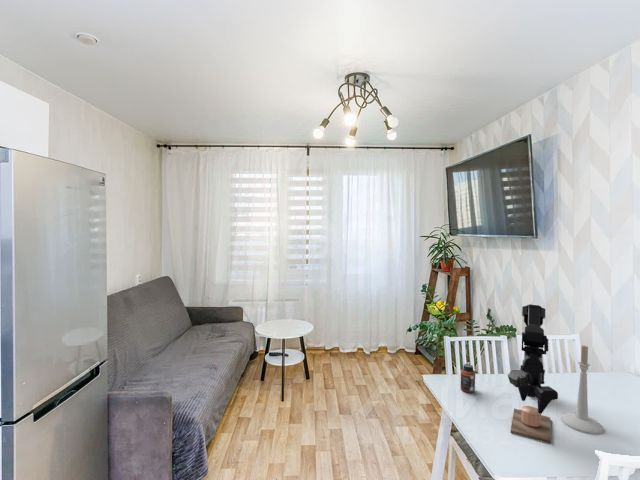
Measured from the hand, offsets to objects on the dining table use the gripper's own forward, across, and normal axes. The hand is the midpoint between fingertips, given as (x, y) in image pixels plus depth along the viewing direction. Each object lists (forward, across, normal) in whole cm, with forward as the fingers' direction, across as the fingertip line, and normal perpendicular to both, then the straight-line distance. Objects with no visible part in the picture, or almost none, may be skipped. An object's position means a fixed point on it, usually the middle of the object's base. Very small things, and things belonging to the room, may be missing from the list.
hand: (531, 406), depth 131 cm
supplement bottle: (+8, -30, -9) cm, 32 cm away
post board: (+7, 0, 0) cm, 7 cm away
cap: (+6, 0, 0) cm, 6 cm away
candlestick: (+8, 0, +20) cm, 21 cm away
